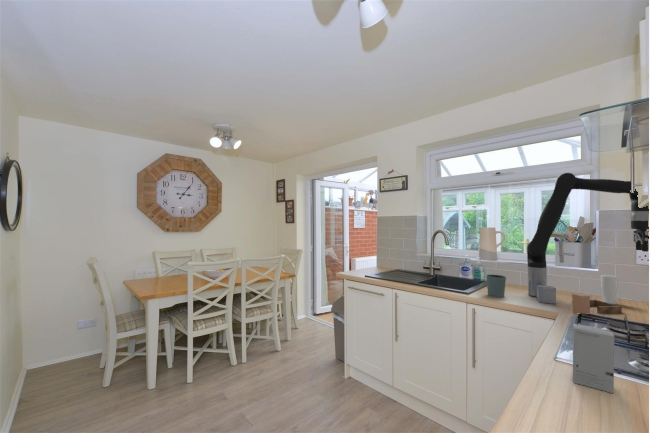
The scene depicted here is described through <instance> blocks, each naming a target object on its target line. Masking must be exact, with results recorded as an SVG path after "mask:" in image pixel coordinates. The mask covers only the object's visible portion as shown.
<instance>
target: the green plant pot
mask: <svg viewBox="0 0 650 433" xmlns="http://www.w3.org/2000/svg"><path fill="white" fill-rule="evenodd" d="M506 280H507V276H504V275H501V274H486V284H487V286H486V288H487V295H488V296H489V297H492V298H504V297H505V291H506Z"/></svg>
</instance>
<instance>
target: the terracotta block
mask: <svg viewBox="0 0 650 433" xmlns="http://www.w3.org/2000/svg"><path fill="white" fill-rule="evenodd" d="M571 299H572V301H571V302H572V303H571V304H572V311H571V312H572V314H576V313H589V314H590V315H591V306H590V300H591V298H590V295H587V294H582V293H572V294H571Z"/></svg>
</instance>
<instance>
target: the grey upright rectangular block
mask: <svg viewBox="0 0 650 433" xmlns="http://www.w3.org/2000/svg"><path fill="white" fill-rule="evenodd" d="M572 326H573V329H572V330H573V331H572V382H573V383H574V384H577V385H582V386H584V387H589V388H592V389H595V390H600V391H603V392H607V393H611V394H614V392H615V391H614V386H615V385H614V384H615V379H614V378H615V374H614V373H615V334H614V333H613V331H612V330H608V329H606V328H605V329H604V328H599V327H594V326H589V325H584V324H578V323H573V325H572Z"/></svg>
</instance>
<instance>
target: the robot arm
mask: <svg viewBox="0 0 650 433" xmlns="http://www.w3.org/2000/svg"><path fill="white" fill-rule="evenodd" d="M631 181H632V180H621V179H619V180H618V179H610V178H609V179H607V178H606V179H605V178H582V177H576V175H574V174H573V173H571V172H564V173H561V174H559V175H558V176H557V177H556V178H555V180H554V185H555V186H554V188H553V192H552V194H551V196H550V197H549V199H548V201H547V202H546V204H545V205H544V207H543V209H542V212H541V214H540V217H539V220H538V223H537V227H536V228H537V229H536V232H535V234H534V235H533V238H532V240H531V241H530V242H528V244H527V247H526V255H527V258H526V259H527V295H528V296H531V297H535V298H537V285H538V286H548V281H547V278H548V277H547V254H546V252H547V250H548V245H549V242H550V239H551V237H552V234H554V231H555V230H556V227H557V225H558V224H559V221H560V220H561V217H562V216H563V215H562V214H563V212H564V210H565V207H566V203H567V200H568V197H569V195H570V194H571V192H572V191H573V190H587V191H595V192H601V193H602V192H603V193H611V194H628V196H629V199H630V203H631V204H630V208H631V210H630V211H631V212H630V229H632V230H633V242H634V243H635V250H636V251H642V252H643V253H644V252H646V253H647V252H649V244H648V239H649V236H648V232H649V231H648V230H650V229H649V227H648V213H649V209H648V206H646V207H643V208H639V207H638V197H637V195H638V192H637V191H636V189H635V191H634V193H631V192H630V190H631Z"/></svg>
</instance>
